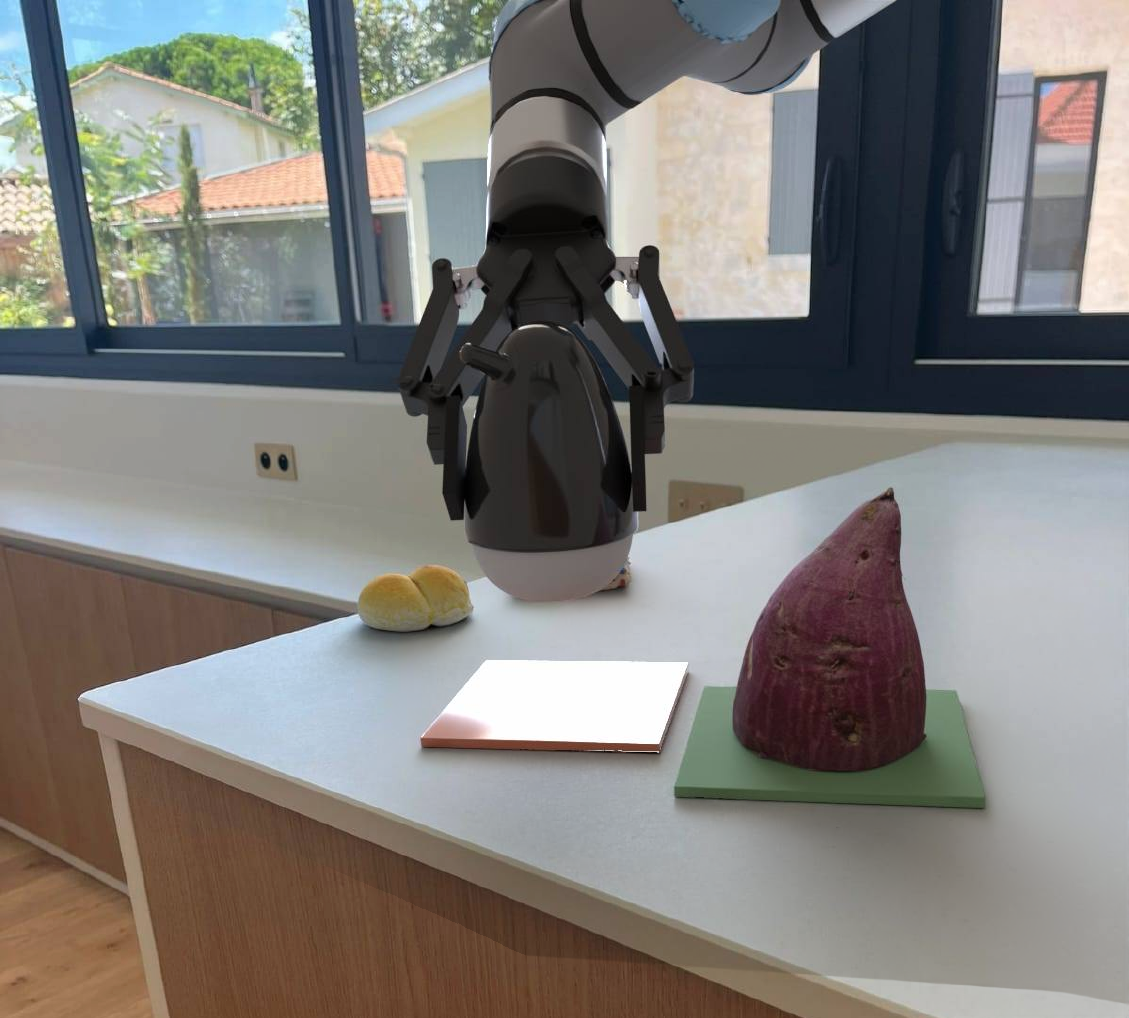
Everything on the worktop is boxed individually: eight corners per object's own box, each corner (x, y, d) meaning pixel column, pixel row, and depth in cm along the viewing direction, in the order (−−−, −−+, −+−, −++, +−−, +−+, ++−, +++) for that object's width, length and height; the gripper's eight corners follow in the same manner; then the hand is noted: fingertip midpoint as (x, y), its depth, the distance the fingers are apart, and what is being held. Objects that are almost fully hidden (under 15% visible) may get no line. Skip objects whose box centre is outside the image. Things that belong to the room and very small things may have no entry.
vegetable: (920, 764, 67) (1015, 510, 61) (889, 817, 58) (997, 525, 52) (751, 703, 70) (827, 457, 65) (697, 744, 61) (780, 463, 56)
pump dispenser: (434, 595, 70) (406, 328, 64) (565, 561, 75) (551, 314, 70) (539, 627, 62) (519, 328, 56) (676, 586, 68) (670, 312, 62)
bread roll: (352, 614, 94) (346, 566, 93) (458, 599, 97) (454, 552, 95) (369, 641, 87) (362, 589, 85) (483, 623, 89) (479, 573, 88)
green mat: (955, 699, 69) (956, 689, 68) (984, 808, 55) (985, 797, 55) (704, 694, 72) (704, 685, 72) (674, 797, 59) (673, 786, 58)
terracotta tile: (688, 671, 76) (688, 662, 76) (659, 753, 64) (659, 744, 64) (486, 668, 79) (485, 660, 79) (420, 747, 67) (419, 737, 67)
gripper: (723, 235, 75) (744, 530, 66) (385, 257, 76) (364, 547, 68) (729, 135, 68) (753, 450, 59) (357, 162, 69) (330, 472, 61)
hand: (545, 502), depth 64 cm, fingers closed on pump dispenser, 10 cm apart
